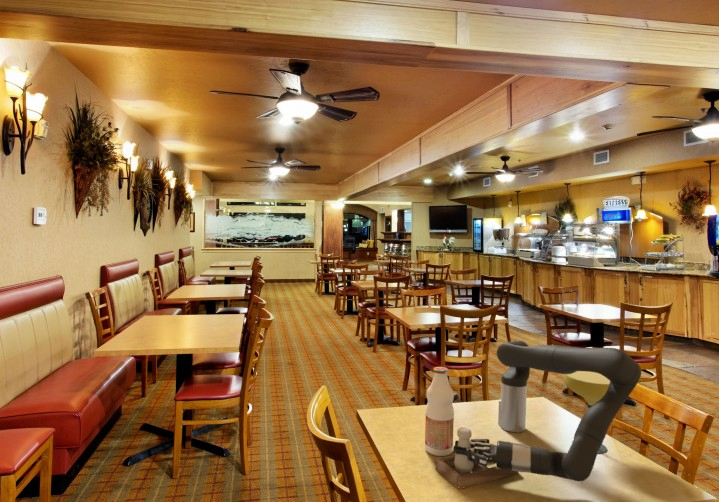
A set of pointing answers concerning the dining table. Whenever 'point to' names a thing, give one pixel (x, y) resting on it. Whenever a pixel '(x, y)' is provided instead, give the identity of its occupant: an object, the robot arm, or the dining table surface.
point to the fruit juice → (439, 415)
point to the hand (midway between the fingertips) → (454, 446)
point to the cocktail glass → (588, 388)
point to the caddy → (473, 478)
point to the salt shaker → (461, 460)
